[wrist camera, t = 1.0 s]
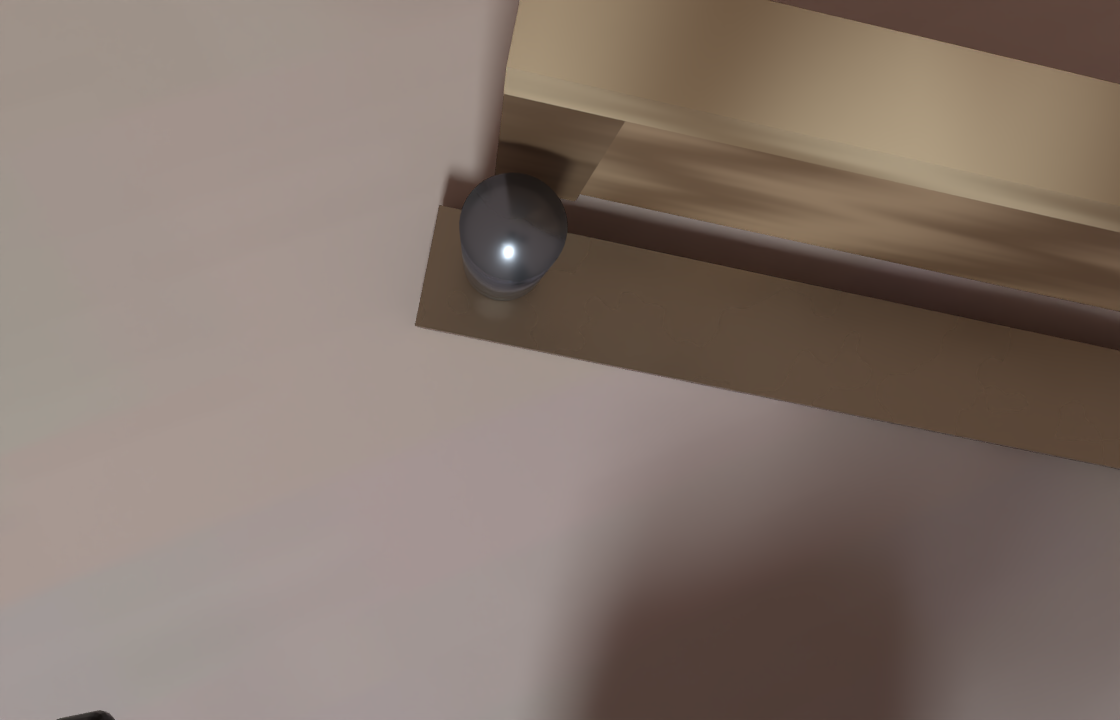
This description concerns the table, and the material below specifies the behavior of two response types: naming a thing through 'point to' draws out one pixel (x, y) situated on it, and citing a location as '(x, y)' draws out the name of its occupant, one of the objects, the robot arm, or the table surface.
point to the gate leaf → (823, 136)
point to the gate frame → (758, 331)
